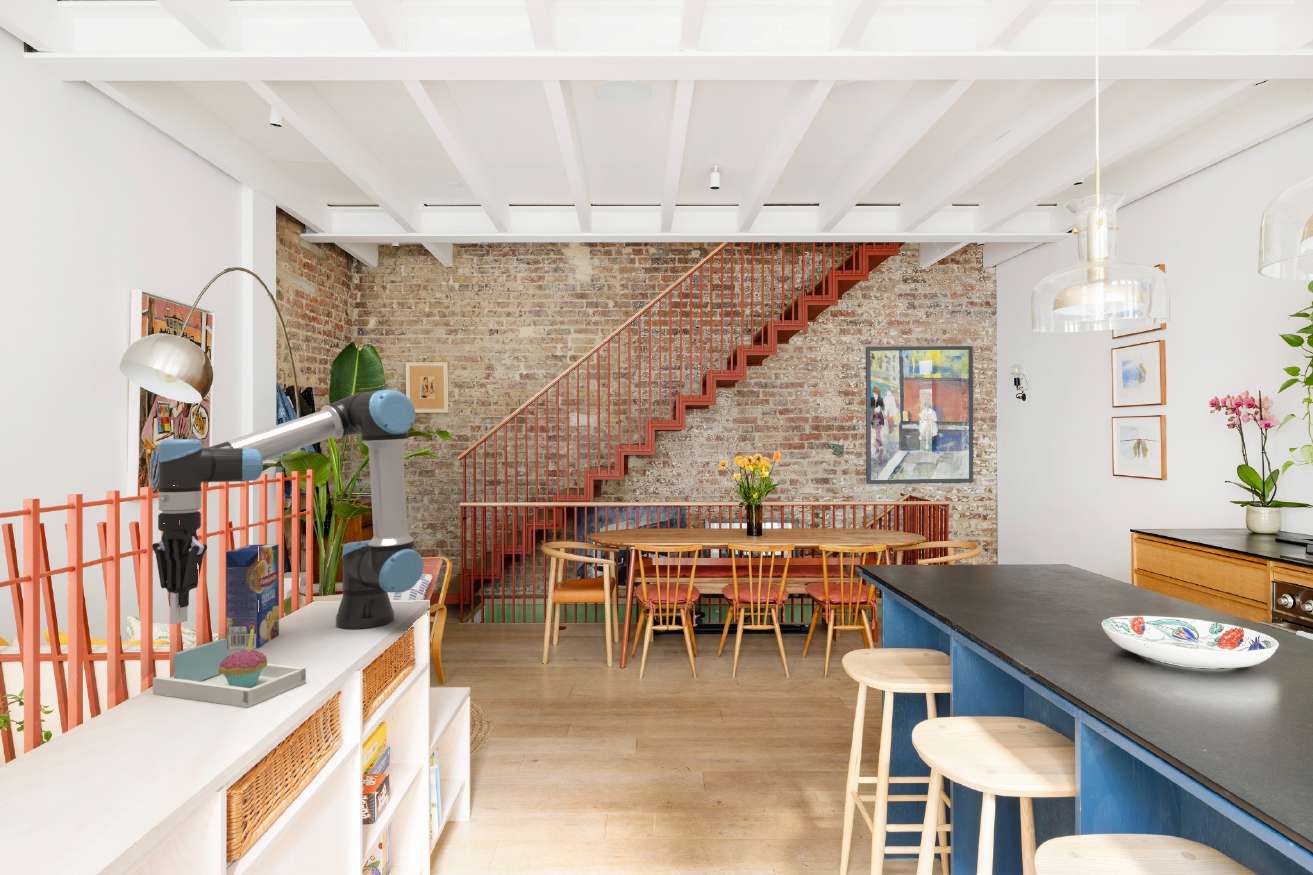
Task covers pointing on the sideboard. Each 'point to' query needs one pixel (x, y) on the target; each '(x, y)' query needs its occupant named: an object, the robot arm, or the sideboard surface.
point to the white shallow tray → (219, 691)
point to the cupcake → (243, 666)
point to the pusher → (200, 661)
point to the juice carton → (252, 595)
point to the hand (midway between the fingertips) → (178, 622)
